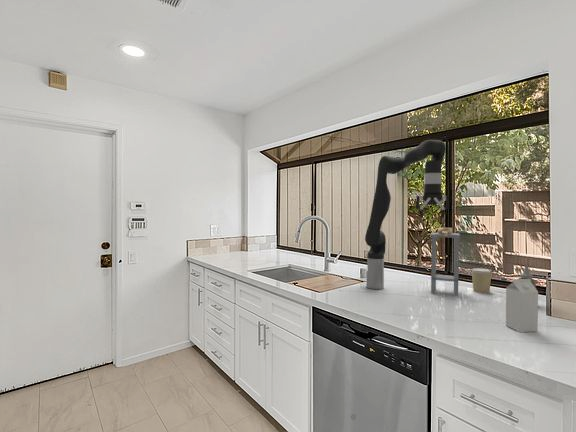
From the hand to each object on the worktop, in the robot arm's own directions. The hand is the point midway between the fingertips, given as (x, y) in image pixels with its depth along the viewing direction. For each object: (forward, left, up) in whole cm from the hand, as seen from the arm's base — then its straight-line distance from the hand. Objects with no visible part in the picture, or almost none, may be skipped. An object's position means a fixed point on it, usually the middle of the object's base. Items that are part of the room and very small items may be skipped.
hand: (432, 217), depth 152 cm
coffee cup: (+23, +39, -42) cm, 62 cm away
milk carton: (+32, -17, -42) cm, 55 cm away
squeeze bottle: (+40, +21, -42) cm, 62 cm away
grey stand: (+5, +28, -42) cm, 50 cm away
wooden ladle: (+5, +24, -10) cm, 26 cm away
